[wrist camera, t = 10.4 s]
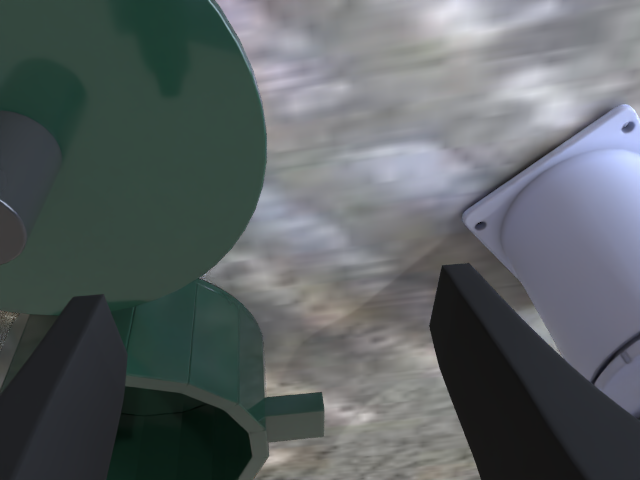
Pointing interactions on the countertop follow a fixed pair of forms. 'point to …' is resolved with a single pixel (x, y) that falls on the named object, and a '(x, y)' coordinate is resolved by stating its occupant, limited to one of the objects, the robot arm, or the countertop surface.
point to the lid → (121, 149)
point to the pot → (188, 388)
